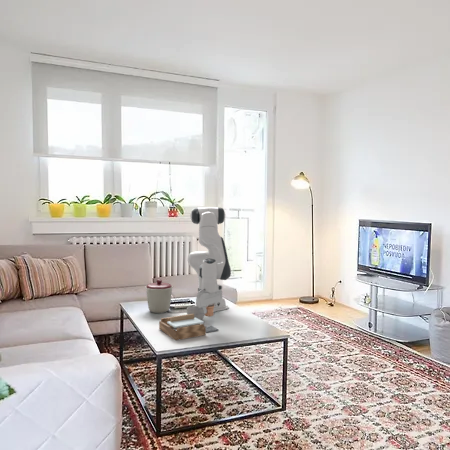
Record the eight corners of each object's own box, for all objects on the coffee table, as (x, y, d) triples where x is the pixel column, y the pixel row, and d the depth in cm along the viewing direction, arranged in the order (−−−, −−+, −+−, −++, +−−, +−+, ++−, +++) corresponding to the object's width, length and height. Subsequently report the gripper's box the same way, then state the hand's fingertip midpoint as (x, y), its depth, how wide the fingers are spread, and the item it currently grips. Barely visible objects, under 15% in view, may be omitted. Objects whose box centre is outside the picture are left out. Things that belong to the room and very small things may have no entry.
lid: (195, 318, 251) (195, 313, 251) (204, 323, 242) (204, 317, 242) (167, 323, 242) (167, 317, 241) (174, 327, 233) (174, 321, 233)
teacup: (188, 323, 264) (188, 309, 263) (185, 318, 274) (185, 305, 274) (211, 321, 267) (211, 308, 267) (206, 316, 278) (207, 304, 277)
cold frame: (187, 324, 260) (187, 314, 260) (205, 334, 242) (205, 324, 241) (159, 329, 251) (159, 318, 251) (175, 340, 232) (175, 329, 232)
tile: (211, 327, 256) (211, 325, 256) (218, 330, 249) (218, 329, 249) (199, 329, 252) (199, 327, 252) (206, 332, 245) (206, 331, 245)
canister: (176, 313, 285) (176, 281, 283) (148, 315, 278) (148, 282, 276) (169, 306, 301) (169, 276, 300) (142, 308, 295) (142, 277, 293)
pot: (208, 313, 254) (208, 303, 254) (216, 315, 251) (216, 305, 250) (202, 315, 249) (202, 305, 249) (210, 317, 246) (210, 307, 246)
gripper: (202, 291, 239) (202, 316, 240) (224, 285, 255) (223, 309, 256) (193, 290, 242) (193, 314, 243) (215, 284, 259) (215, 307, 260)
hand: (209, 311), depth 250 cm, fingers closed on pot, 5 cm apart
